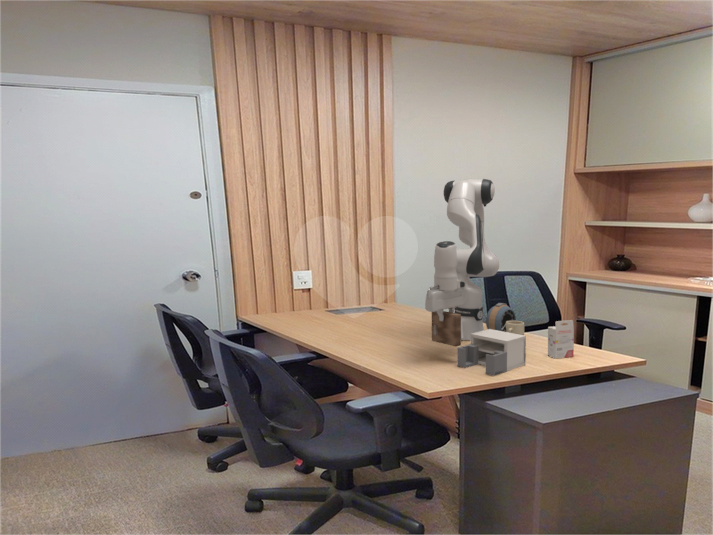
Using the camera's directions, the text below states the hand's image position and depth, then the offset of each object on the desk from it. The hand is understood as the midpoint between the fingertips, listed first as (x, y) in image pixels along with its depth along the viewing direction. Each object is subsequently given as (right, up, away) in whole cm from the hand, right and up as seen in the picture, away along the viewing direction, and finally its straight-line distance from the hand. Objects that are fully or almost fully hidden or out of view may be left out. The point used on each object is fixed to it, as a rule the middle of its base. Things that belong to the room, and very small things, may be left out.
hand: (446, 319), depth 196 cm
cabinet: (+16, -16, -6) cm, 24 cm away
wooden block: (0, -9, +1) cm, 9 cm away
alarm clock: (+28, -13, +26) cm, 41 cm away
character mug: (+29, -15, +9) cm, 34 cm away
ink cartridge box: (+46, -15, +4) cm, 48 cm away
